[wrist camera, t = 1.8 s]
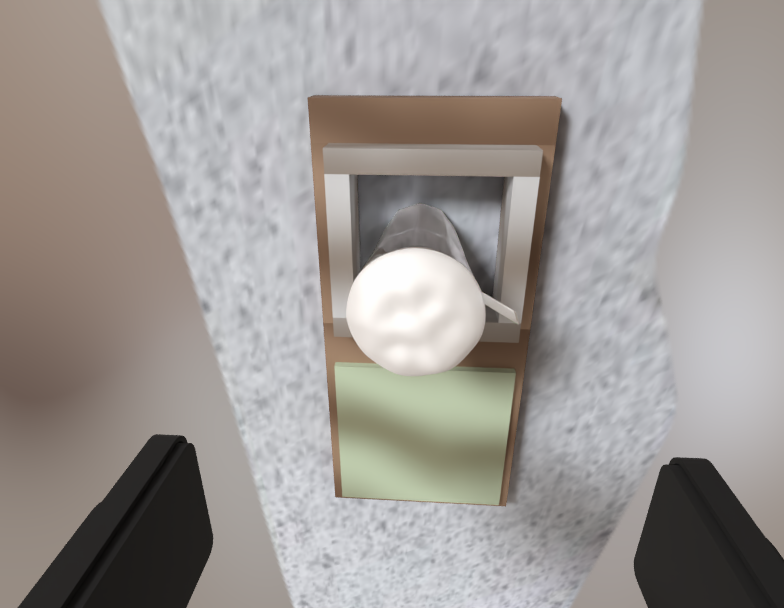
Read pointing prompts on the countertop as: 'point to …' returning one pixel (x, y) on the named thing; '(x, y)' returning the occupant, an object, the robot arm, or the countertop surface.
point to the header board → (511, 287)
